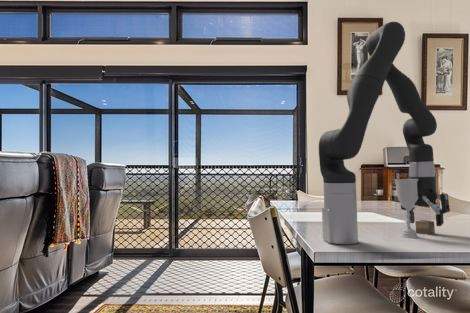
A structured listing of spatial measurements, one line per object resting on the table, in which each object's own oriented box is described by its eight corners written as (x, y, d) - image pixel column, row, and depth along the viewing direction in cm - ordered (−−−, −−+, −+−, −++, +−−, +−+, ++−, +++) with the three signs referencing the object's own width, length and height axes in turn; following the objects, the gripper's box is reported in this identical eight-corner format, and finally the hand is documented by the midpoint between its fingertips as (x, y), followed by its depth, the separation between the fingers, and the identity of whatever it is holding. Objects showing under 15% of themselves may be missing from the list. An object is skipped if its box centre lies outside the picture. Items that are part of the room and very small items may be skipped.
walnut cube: (428, 235, 99) (428, 221, 100) (416, 233, 103) (415, 220, 103) (434, 233, 102) (434, 220, 102) (422, 231, 105) (421, 219, 105)
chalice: (425, 239, 93) (422, 179, 94) (400, 238, 94) (398, 179, 95) (416, 234, 100) (413, 178, 101) (393, 234, 101) (391, 179, 103)
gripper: (451, 175, 100) (454, 225, 99) (406, 175, 112) (409, 220, 111) (440, 175, 96) (443, 228, 95) (395, 176, 107) (397, 223, 106)
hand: (425, 224), depth 103 cm, fingers open, 8 cm apart
